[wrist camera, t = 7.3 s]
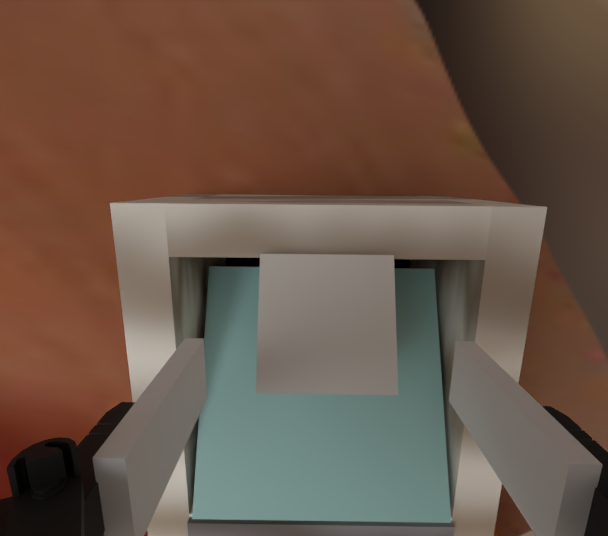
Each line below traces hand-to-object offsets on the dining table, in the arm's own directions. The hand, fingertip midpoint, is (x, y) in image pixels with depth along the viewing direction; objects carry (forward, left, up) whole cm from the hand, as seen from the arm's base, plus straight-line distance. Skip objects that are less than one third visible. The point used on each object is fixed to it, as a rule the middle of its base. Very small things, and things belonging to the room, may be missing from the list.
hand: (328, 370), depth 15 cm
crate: (+4, 0, -15) cm, 16 cm away
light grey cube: (+1, 0, -7) cm, 7 cm away
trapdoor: (+4, 0, -6) cm, 8 cm away
